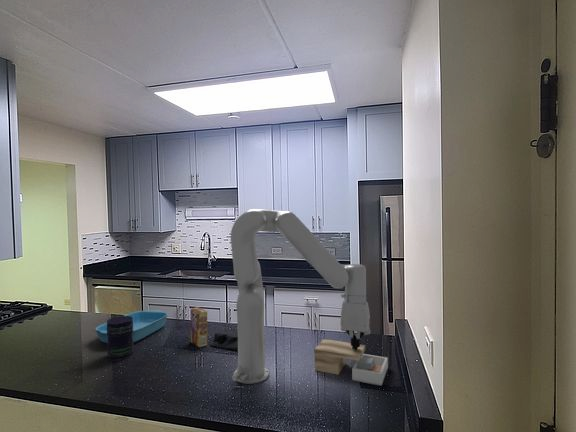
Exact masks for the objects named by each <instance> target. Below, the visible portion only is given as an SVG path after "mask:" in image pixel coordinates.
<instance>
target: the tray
mask: <svg viewBox="0 0 576 432" xmlns="http://www.w3.org/2000/svg"><path fill="white" fill-rule="evenodd" d="M361 358H374V362H375V364H374V365H378V366H382V368H381V370H380V373H379V372H374V371H368V370H365V369H358V365H357V363H358V361H357V360H355V363H354V365H353V367H352V368H351V372H352V373H351V377H352V378H351V379H352V381H355V382H358V383H359V382H361V383H366V384H370V385H376V386H383V383H384V380H385V378H386V375H387V372H388V368H389V366H388V365H389V364H388V363H389V362H388V361H389V358H388V357H387V356H379V355H373V354H367V353H363V354H362V356H361Z"/></svg>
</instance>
